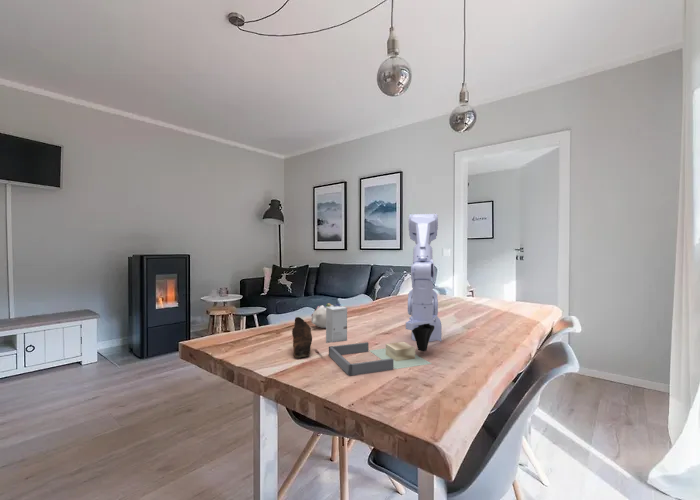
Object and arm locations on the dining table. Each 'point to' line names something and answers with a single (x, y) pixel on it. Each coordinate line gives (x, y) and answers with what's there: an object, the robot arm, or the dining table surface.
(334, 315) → the skincare box
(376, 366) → the box
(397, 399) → the dining table surface
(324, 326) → the cat figurine
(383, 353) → the far plate
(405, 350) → the birch tile
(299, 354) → the decorative rock
